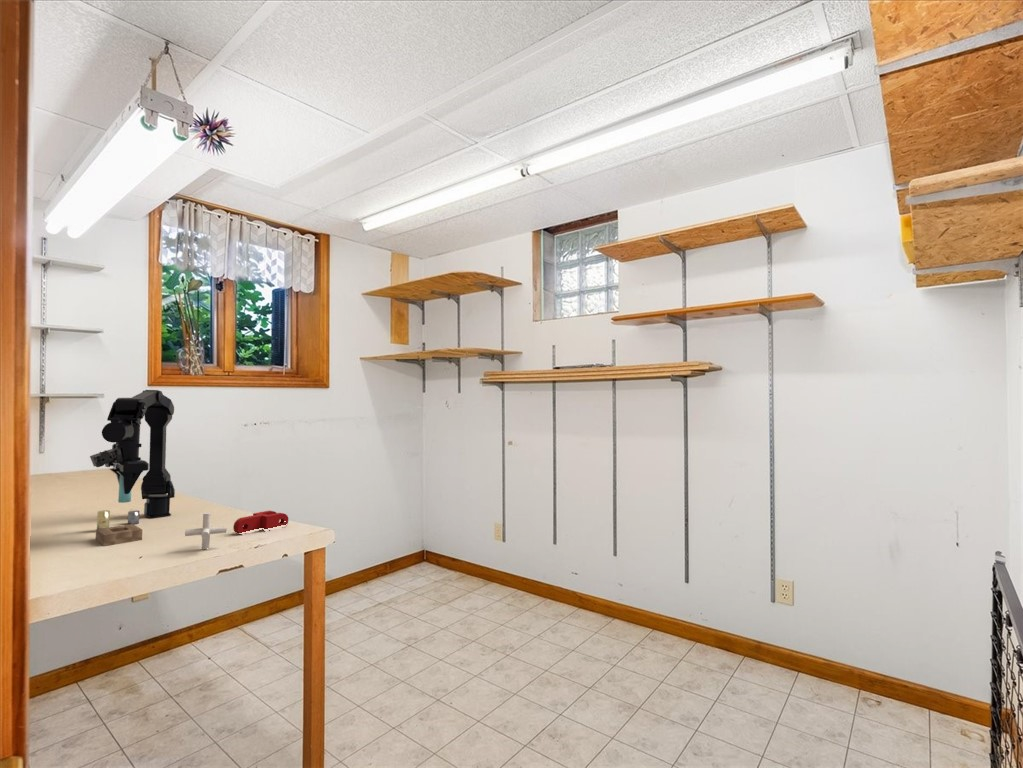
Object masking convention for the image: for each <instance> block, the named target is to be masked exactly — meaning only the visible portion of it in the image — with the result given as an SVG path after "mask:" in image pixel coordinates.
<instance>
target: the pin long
mask: <svg viewBox="0 0 1023 768" xmlns="http://www.w3.org/2000/svg"><path fill="white" fill-rule="evenodd" d="M117 501H118V503H119V504H120V503H123V504H124V503H131V502H132V490H131V491H130V493H129V494H124V488H123V480H122V476H121V475H120V479H119V483H118V499H117Z"/></svg>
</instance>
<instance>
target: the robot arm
mask: <svg viewBox="0 0 1023 768" xmlns="http://www.w3.org/2000/svg"><path fill="white" fill-rule="evenodd" d="M111 405H112V406H111V408H110V410H109V414H108V416H107V418H106V420H107V421H108V422H109V423H107V424H105V425H104V426H103V428H102V430H101V436H102V439H104V440H105V441H106V442H108V443H113V444H112V445H111V448H110V449H107V450H106V449H105V450H103V451H99V452H98V453H94V454H92V455H90V456H89V457H90V458H89V459H90V460H91V463H92V466H93V467H95V468H100V467H103V466H104V467H107V468H109V471H111V472H112V473H113V474H115V475H116V479H117V482H118V484H119V479H120V475H121V476H122V480H123V488H124V494H129V493H130V491H131V492H132V489H133V487H134V486H135V485H136V483H137V481H138V479H139V478H140V476H141V475H142V473H143V472H144V471H147V472H146V474H144V475H143V477H142V482H141V485H140V490H141V491H140V492H141V500H146V502H145V503H144V505H143V506H144V508H143V516H145V517H146V518H149V519H155V518H161V517H170V516H172V513H170V508H171V503H170V502H171V499H172V498H175V497H176V495H175V494H176V490H175V486H174V484H173V481H172V479H171V473H170V472H169V471H168V469H167V468H166V456H167V454H166V452H167V451H166V450H167V427H168V426H169V424H170V422H171V421H172V419H173V415H174V413H175V405H174V403H173V401H172V399H170V397H167V396H166V395H164V394H163V391H162V390H159V389H145V390H143V391H142V392H139V393H138V394H136V395H134V396H132V397H118V398H116V399H115V401H114V402H113V403H112V404H111ZM143 418H144V421H145V423H146V424H147V425H148V427H149V429H150V430H149V458H148V459H149V460H148V461H149V462H147V461H146V460H143V459H142V457H140V456H139V455H140V448H142V445H143V444H142V443H140V439H141V438H140V437H141V436H140V435H141V425H142V421H141V420H143ZM110 467H112V468H110Z"/></svg>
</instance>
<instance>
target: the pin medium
mask: <svg viewBox="0 0 1023 768" xmlns="http://www.w3.org/2000/svg"><path fill="white" fill-rule="evenodd" d="M110 512H111V511H110V510H109V509H108V510H107V509H106V510H99V511H97V518H96V519H97V520H96V529H102V528H109V527H110V517H111V516H110V515H111V513H110Z"/></svg>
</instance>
